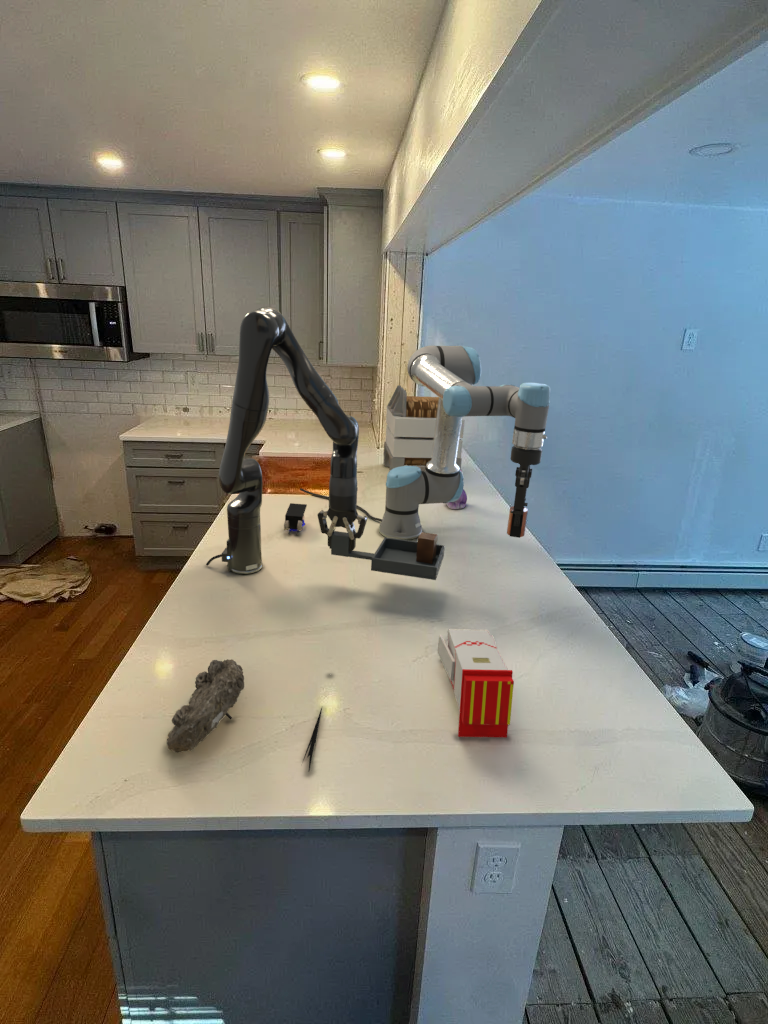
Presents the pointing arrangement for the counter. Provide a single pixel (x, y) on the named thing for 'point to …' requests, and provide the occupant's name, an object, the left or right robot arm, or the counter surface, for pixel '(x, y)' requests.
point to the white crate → (412, 430)
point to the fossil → (206, 705)
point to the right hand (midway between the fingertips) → (515, 532)
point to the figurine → (458, 501)
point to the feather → (313, 740)
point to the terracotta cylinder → (522, 521)
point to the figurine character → (295, 517)
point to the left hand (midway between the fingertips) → (341, 548)
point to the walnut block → (426, 547)
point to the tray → (391, 556)
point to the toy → (478, 682)
